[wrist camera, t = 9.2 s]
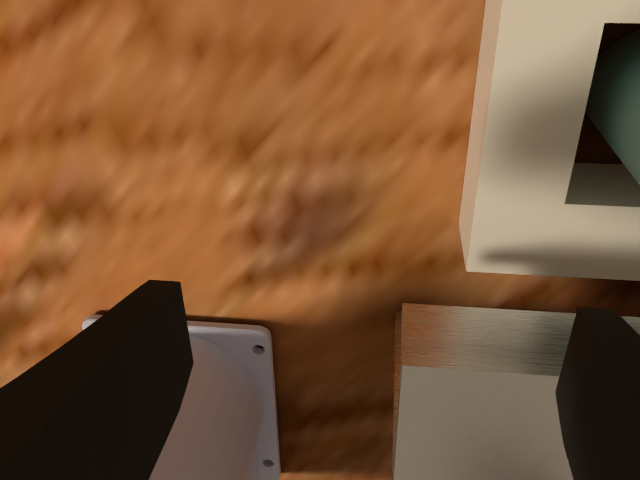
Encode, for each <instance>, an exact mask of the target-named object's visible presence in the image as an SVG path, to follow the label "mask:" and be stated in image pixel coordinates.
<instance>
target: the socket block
mask: <svg viewBox="0 0 640 480" xmlns="http://www.w3.org/2000/svg"><path fill="white" fill-rule="evenodd" d="M604 23H640V0H486V3H485V12H484V20H483V28H482V36H481V45H480V53H479V61H478V69H477V78H476V86H475V94H474V102H473V111H472V119H471V127H470V135H469V144H468V152H467V160H466V168H465V177H464V185H463V193H462V201H461V209H460V218H459V229H460V236H461V242H462V248H463V255H464V261H465V268H466V271H467V272H485V273H503V274H522V275H540V276H559V277H577V278H596V279H614V280H633V281H640V185H639V184H638V183H637V181H636V180H635V179H634V177H633V176H632V175H631V173H630V172H629V171H628V169H627V168H626V167H625V165H624V164H597V163H574V159H575V155H576V150H577V146H578V141H579V136H580V132H581V127H582V123H583V118H584V114H585V109H586V105H587V100H588V96H589V91H590V87H591V82H592V78H593V73H594V68H595V64H596V59H597V55H598V50H599V46H600V41H601V37H602V32H603V28H604Z"/></svg>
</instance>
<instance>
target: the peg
mask: <svg viewBox="0 0 640 480" xmlns="http://www.w3.org/2000/svg"><path fill="white" fill-rule="evenodd" d="M586 112H587V114H588V116H589V118H590V120H591V121H592V123H593V124H594V125H595V127H596V128H597V129H598V131H599V132H600V133H601V135H602V136H603V137H604V139H605V140H606V141H607V143H608V144H609V145H610V147H611V148H612V149H613V151H614V152H615V153H616V155H617V156H618V157H619V159H620V160H621V161H622V163H623V164H624V165H625V167H626V168H627V169H628V171H629V172H630V173H631V175H632V176H633V177H634V179H635V180H636V181H637V183H638V184H639V185H640V29H639V30H636V31H633V32H631V33H629V34H627V35H625V36H623V37H621V38H619V39H618V40H616V41H615V42H614V43H612V44H611V45H610V46H609V47H608V48H606V49H605V50H604V51H603V53H602V54H601V55H600V56H599V57H598V58H597V60H596V64H595V68H594V73H593V78H592V82H591V87H590V91H589V96H588V100H587V105H586Z"/></svg>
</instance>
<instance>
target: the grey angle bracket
mask: <svg viewBox="0 0 640 480" xmlns="http://www.w3.org/2000/svg"><path fill="white" fill-rule="evenodd" d="M575 316H576V313H560V312H543V311H527V310H510V309H493V308H477V307H460V306H444V305H427V304H410V303H402V311H397V310H396V319H395V344H394V396H393V449H392V480H573V476H572V473H571V469H570V466H569V462H568V459H567V455H566V452H565V448H564V444H563V439H562V433H561V427H560V421H559V414H558V407H557V401H556V394H555V391H556V387H557V383H558V380H559V376H560V372H561V368H562V365H563V361H564V357H565V353H566V350H567V346H568V342H569V338H570V335H571V331H572V327H573V323H574V320H575ZM621 317H622V318H623V319H624V320H625V321H626V322H627V323H628V324H629V325H630V326H631V327H632V328H633V329H634V330H635V331H636V332H637V333H638V334H639V335H640V317H626V316H621Z"/></svg>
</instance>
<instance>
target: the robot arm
mask: <svg viewBox="0 0 640 480" xmlns="http://www.w3.org/2000/svg"><path fill="white" fill-rule="evenodd" d="M82 328H83V331H82V332H80V333H79V334H78V335H76V336H75V337H74V338H72V339H71V340H70V341H68V342H67V343H66V344H64V345H63V346H62V347H60V348H59V349H57V350H56V351H54V352H53V353H51V354H50V355H49V356H47V357H46V358H44V359H43V360H41V361H40V362H39V363H37V364H36V365H34V366H33V367H31V368H30V369H28V370H27V371H26V372H24V373H23V374H21V375H20V376H18V377H17V378H16V379H14V380H12V381H11V382H9V383H8V384H6V385H5V386H3V387H2V388H0V480H279V479H280V474H281V467H280V452H279V438H278V424H277V409H276V395H275V381H274V366H273V352H272V338H271V333H270V331H269V330H268V329H267V328H265V327H263V326H259V325H245V324H230V323H215V322H200V321H187V319H186V314H185V308H184V302H183V296H182V290H181V284H180V282H175V281H159V280H148V281H147V282H146V283H144V284H143V285H141V286H140V287H139V288H137V289H136V290H135V291H133V292H132V293H131V294H129V295H128V296H127V297H126V298H124V299H123V300H122V301H120V302H119V303H118V304H117V305H115V306H114V307H113V308H111V309H110V310H109V311H108V312H106V313H105V314H104V315H89V316H88V317H87V318H86V319H85V321H84V322H83V324H82ZM255 345H261V346H262V347H264V348H258V347H256V346H255ZM555 394H556V401H557V407H558V414H559V421H560V427H561V433H562V439H563V444H564V448H565V452H566V455H567V459H568V462H569V466H570V469H571V473H572V476H573V480H640V335H639V334H638V333H637V332H636V331H635V330H634V329H633V328H632V327H631V326H630V325H629V324H628V323H627V322H626V321H625V320H624V319H623V318H622V317H621V316H620V315H619V314H618V313H617V312H616V311H615V310H604V309H589V308H577V312H576V316H575V320H574V323H573V327H572V331H571V335H570V338H569V342H568V346H567V350H566V353H565V357H564V361H563V365H562V368H561V372H560V376H559V380H558V383H557V387H556V391H555Z"/></svg>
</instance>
